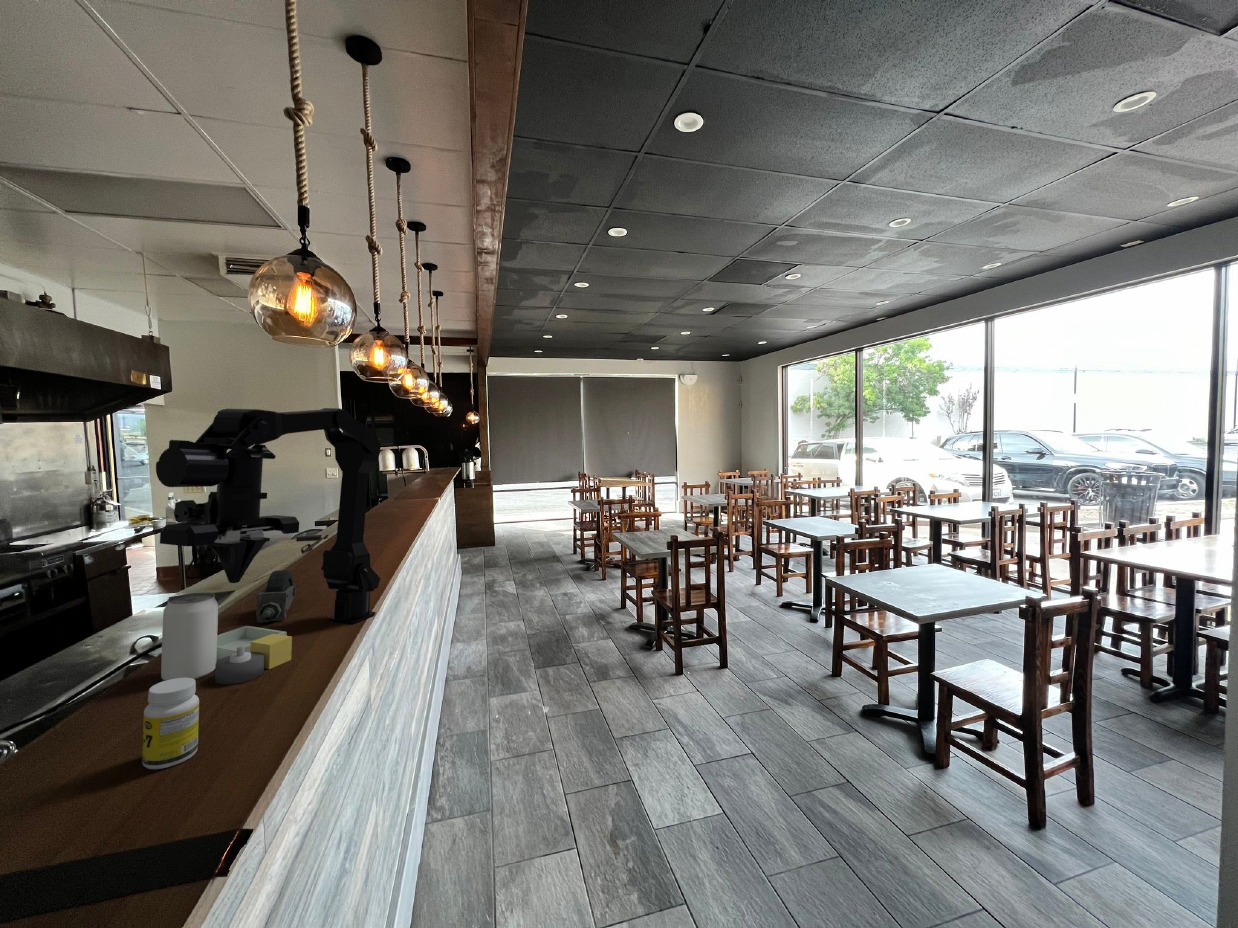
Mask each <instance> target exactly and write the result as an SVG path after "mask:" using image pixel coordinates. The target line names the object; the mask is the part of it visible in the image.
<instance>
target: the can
mask: <svg viewBox="0 0 1238 928" xmlns="http://www.w3.org/2000/svg"><path fill="white" fill-rule="evenodd" d="M215 597H216V595H215V593H213V592H193V593H192V592H190V593H185V594H184V593H183V594H179V595H175V596H172V597H169V598H168V599H167V600H166V601H167V604H166V605H165V607H164V609H163V613H162V637H161V665H160V669H161V671H160V677H161V679H162V681H166V680H170V679H176V678H193V679H195V680H198V679H201V678H204V677H207V676H208V675H210V674H211V673H213V671H214V670H215V664H216V656H217V635H218V628H219V627H218V626H219V625H218V624H219V620H218V619H219V617H218V616H219V604H218V601H217V600H216V598H215Z"/></svg>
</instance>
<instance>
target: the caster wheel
mask: <svg viewBox="0 0 1238 928" xmlns="http://www.w3.org/2000/svg"><path fill="white" fill-rule="evenodd" d="M296 595H297V587H296V586H295V585H294V576H293V573H292V571H290V570H287V569H284V570H282V569H281V570H274V571H272V572H271V574H270V575H269V578H268V579H267V584H266V587H265V588H264V589H262V591H260V592H259V593H258V594H257V596H256V599H257V601H256V611H255V615H256V616H255V617H256V622H257V623H260V624H261V623H262V624H263V622H265V623H270V622H269V621H280V622H283V621H285V620H286V619H287V613H288V609H290V607H291V604H292V602H293V600H294V598H295V596H296ZM284 619H285V620H284Z"/></svg>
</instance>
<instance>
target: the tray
mask: <svg viewBox="0 0 1238 928" xmlns="http://www.w3.org/2000/svg"><path fill="white" fill-rule="evenodd" d="M287 633H288V632H287V631H285V630H284V631H282V630H277V629H270V628H265V627H264V628H263V627H257V626H253V625H252V626H251V625H244V626H240V627H238V628H234V629H231V630H229V631H226V632H223V633H220V634H217V656H216V662H217V661H218V660H220V659H222V658H224V657H227V656H230V655H233V654H236V653H237V647H241V646H244V647H245V652H250V642H251V641H254V640H257V639H260V638H262V637H265V636H268V635H271V634H279V635H285V636H288V634H287Z"/></svg>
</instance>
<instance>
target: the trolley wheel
mask: <svg viewBox="0 0 1238 928" xmlns="http://www.w3.org/2000/svg"><path fill="white" fill-rule="evenodd" d="M264 669H265V668H264V655H263V654H262V653H258V652H245V647H244V646H241V647H237V653H236V654H233V655H230V656H227V657H224V658H222V659H220V660H218V661H217V662H216V664H215V669H214V670H215V671H214V674H215V675H214V682H215V683H216V684H219V685H235V684H237V685H238V684H242V683H246V682H249V681H252V680H254V679H257V678H259V677H260V676H262V675H263V674H264Z"/></svg>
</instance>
